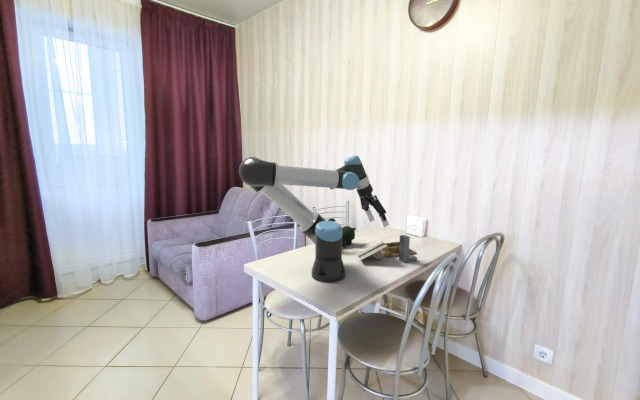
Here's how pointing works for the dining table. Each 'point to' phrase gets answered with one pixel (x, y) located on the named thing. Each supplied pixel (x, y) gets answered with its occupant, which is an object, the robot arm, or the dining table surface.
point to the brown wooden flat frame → (393, 250)
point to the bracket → (405, 250)
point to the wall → (373, 251)
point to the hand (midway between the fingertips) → (379, 223)
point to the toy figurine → (346, 234)
